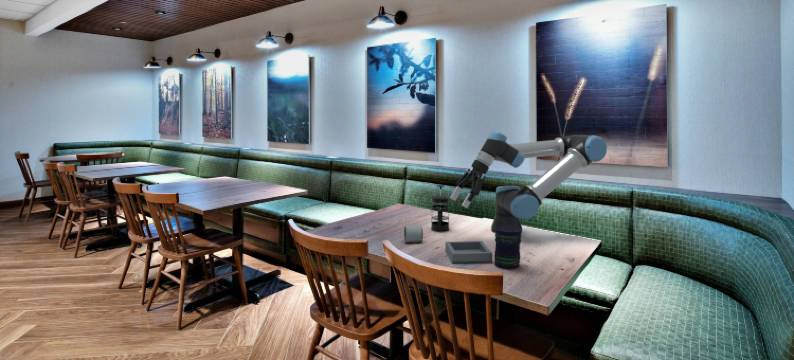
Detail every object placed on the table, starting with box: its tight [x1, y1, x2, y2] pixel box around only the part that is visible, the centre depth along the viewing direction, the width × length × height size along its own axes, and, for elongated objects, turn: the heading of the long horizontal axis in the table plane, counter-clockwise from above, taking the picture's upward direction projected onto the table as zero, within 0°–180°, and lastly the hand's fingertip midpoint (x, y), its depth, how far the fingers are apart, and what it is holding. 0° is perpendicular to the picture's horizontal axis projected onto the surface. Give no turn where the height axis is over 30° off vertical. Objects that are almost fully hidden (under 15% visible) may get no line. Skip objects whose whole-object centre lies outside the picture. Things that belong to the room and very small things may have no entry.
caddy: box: [444, 240, 493, 264], centre depth 172 cm, size 16×16×4 cm
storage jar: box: [493, 225, 522, 271], centre depth 161 cm, size 10×10×15 cm
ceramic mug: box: [403, 225, 424, 243], centre depth 194 cm, size 11×8×8 cm
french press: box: [430, 184, 450, 233], centre depth 211 cm, size 12×9×23 cm
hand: (458, 203), depth 188 cm, fingers open, 13 cm apart
